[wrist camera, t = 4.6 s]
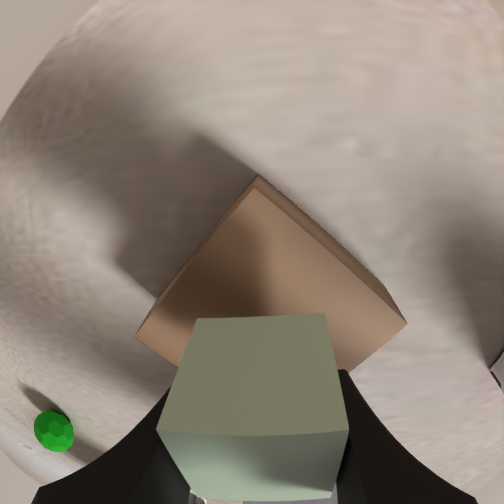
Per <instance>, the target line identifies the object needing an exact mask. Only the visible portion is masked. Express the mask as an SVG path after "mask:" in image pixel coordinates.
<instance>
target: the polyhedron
mask: <svg viewBox="0 0 504 504" xmlns="http://www.w3.org/2000/svg"><path fill="white" fill-rule="evenodd" d="M34 431H35V436H36V437H37V439H38V441H39V442H40V443H41V444H42V445H43V446H44V447H45V448H47V449H49V450H51V451H55V452H62V451H65V450H67V449H68V448H70V447H71V445H72V443H73V442H74V434H73V427H72V425H71V424H70V422H69V421H68V420H67V418H66V417H65V416H64V415H62V414H60V413H58V412H54V411H51V410H50V411H46V412H43V413H41V414H39V415H38V416H37V418H36V420H35V422H34Z"/></svg>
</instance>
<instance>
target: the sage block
mask: <svg viewBox="0 0 504 504" xmlns="http://www.w3.org/2000/svg"><path fill="white" fill-rule="evenodd" d="M156 430H157V432H158V434H159V436H160V438H161V439H162V441H163V443H164V445H165V447H166V448H167V450H168V452H169V453H170V455H171V457H172V459H173V460H174V462H175V463H176V465H177V467H178V468H179V470H180V472H181V473H182V475H183V476H184V478H185V479H186V481H187V483H188V484H189V486H190V487H191V489H192V490H193V492H194V493H195V495H196V496H197V497H199V498H208V499H219V500H234V501H297V500H312V499H323V498H331V495H332V491H333V488H334V485H335V482H336V478H337V475H338V471H339V468H340V464H341V460H342V457H343V453H344V449H345V445H346V441H347V437H348V433H349V425H348V420H347V415H346V410H345V405H344V399H343V395H342V390H341V385H340V380H339V375H338V371H337V366H336V361H335V357H334V352H333V348H332V344H331V339H330V335H329V331H328V326H327V322H326V318H325V314H324V313H312V314H297V315H280V316H261V317H236V318H197V320H196V323H195V325H194V328H193V331H192V333H191V336H190V338H189V341H188V344H187V346H186V349H185V352H184V354H183V357H182V360H181V362H180V365H179V368H178V370H177V373H176V376H175V378H174V381H173V384H172V386H171V389H170V392H169V395H168V397H167V400H166V403H165V406H164V408H163V411H162V414H161V417H160V419H159V422H158V425H157V428H156Z"/></svg>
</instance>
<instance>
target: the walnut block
mask: <svg viewBox="0 0 504 504" xmlns="http://www.w3.org/2000/svg"><path fill="white" fill-rule="evenodd" d="M312 313H324V314H325V318H326V322H327V326H328V331H329V335H330V339H331V344H332V348H333V352H334V357H335V361H336V366H337V370H340V369H345V370H346V371H347V372H348V373H349V372H350V371H352V370H353V369H354V368H355V367H357V366H358V365H359V364H361V363H362V362H363V361H364V360H366V359H367V358H368V357H369V356H371V355H372V354H373V353H374V352H376V351H377V350H378V349H379V348H380V347H382V346H383V345H384V344H385V343H386V342H388V341H389V340H390V339H391V338H392V337H393V336H394V335H396V334H397V333H398V332H399V331H400V330H401V329H402V328H404V327H405V326H406V325H407V322H406V320H405V319H404V317H403V315H402V314H401V312H400V310H399V309H398V307H397V305H396V304H395V302H394V300H393V299H392V297H391V296H390V294H389V292H388V291H387V289H386V287H385V286H384V285H383V284H382V283H381V282H380V281H379V280H378V279H377V278H376V277H375V276H373V275H372V274H371V273H370V272H369V271H368V270H367V269H366V268H365V267H364V266H363V265H362V264H361V263H360V262H359V261H358V260H357V259H355V258H354V257H353V256H352V255H351V254H350V253H349V252H348V251H347V250H346V249H345V248H344V247H342V246H341V245H340V244H339V243H338V242H337V241H336V240H335V239H334V238H333V237H331V236H330V235H329V234H328V233H327V232H326V231H325V230H324V229H323V228H321V227H320V226H319V225H318V224H317V223H316V222H315V221H313V220H312V219H311V218H310V217H309V216H308V215H307V214H305V213H304V212H303V211H302V210H301V209H300V208H299V207H297V206H296V205H295V204H294V203H293V202H292V201H290V200H289V199H288V198H287V197H286V196H285V195H283V194H282V193H281V192H280V191H279V190H277V189H276V188H275V187H274V186H273V185H271V184H270V183H269V182H268V181H267V180H265V179H264V178H263V177H262V176H261V175H259V174H258V175H257V176H256V178H255V179H254V180H253V181H252V182H251V183H250V185H249V186H248V187H247V188H246V189H245V191H244V192H243V193H242V194H241V195H240V196H239V198H238V199H237V200H236V201H235V202H234V204H233V205H232V206H231V207H230V208H229V210H228V211H227V212H226V213H225V215H224V216H223V217H222V218H221V219H220V221H219V222H218V223H217V224H216V225H215V227H214V228H213V229H212V230H211V232H210V233H209V234H208V235H207V237H206V238H205V239H204V240H203V242H202V243H201V244H200V245H199V247H198V248H197V249H196V250H195V252H194V253H193V254H192V255H191V257H190V258H189V259H188V260H187V262H186V263H185V264H184V265H183V267H182V268H181V269H180V270H179V272H178V273H177V274H176V276H175V277H174V278H173V279H172V281H171V282H170V283H169V285H168V286H167V287H166V289H165V290H164V291H163V292H162V294H161V295H160V296H159V298H158V299H157V300H156V302H155V304H154V305H153V307H152V308H151V310H150V312H149V313H148V315H147V316H146V318H145V320H144V321H143V323H142V325H141V326H140V328H139V329H138V331H137V333H136V334H135V336H134V338H136V339H137V340H138V341H140V342H141V343H143V344H144V345H145V346H147V347H148V348H150V349H151V350H153V351H154V352H155V353H157V354H158V355H160V356H161V357H163V358H164V359H166V360H167V361H169V362H170V363H172V364H173V365H175V366H176V367H178V368H179V365H180V362H181V360H182V357H183V354H184V352H185V349H186V346H187V344H188V341H189V338H190V336H191V333H192V331H193V328H194V325H195V323H196V320H197V318H236V317H261V316H280V315H297V314H312Z"/></svg>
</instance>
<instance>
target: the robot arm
mask: <svg viewBox="0 0 504 504" xmlns="http://www.w3.org/2000/svg"><path fill="white" fill-rule="evenodd" d="M337 371H338V375H339V380H340V385H341V390H342V395H343V399H344V405H345V410H346V415H347V420H348V425H349V433H348V437H347V441H346V445H345V449H344V453H343V457H342V460H341V464H340V468H339V471H338V475H337V478H336V482H335V485H334V488H333V491H332V495H331V498H323V499H312V500H297V501H243V504H478V503H477V501H476V499H475V498H474V497H472V496H471V495H469V494H467V493H465V492H463V491H461V490H459V489H458V488H456V487H454V486H453V485H451V484H449V483H448V482H446V481H445V480H443V479H442V478H440V477H439V476H437V475H436V474H435V473H434V472H432V471H431V470H430V469H428V468H427V467H426V466H425V465H423V464H422V463H421V462H419V461H418V460H417V459H416V458H415V457H414V456H413V455H412V454H410V453H409V452H408V451H407V450H406V449H405V448H404V447H403V446H402V445H401V444H400V443H399V442H398V441H397V440H396V439H395V438H394V437H393V435H392V434H391V433H390V432H389V431H388V430H387V428H386V427H385V426H384V425H383V424H382V423H381V421H380V420H379V419H378V417H377V416H376V415H375V414H374V412H373V411H372V409H371V408H370V407H369V405H368V404H367V403H366V401H365V400H364V398H363V397H362V395H361V394H360V392H359V391H358V389H357V387H356V386H355V384H354V383H353V381H352V379H351V377H350V376H349V374H348V372H347V371H346V370H345V369H340V370H337ZM171 386H172V385H171ZM170 389H171V387H170V388H169V389H168V390H167V392H166V393H165V394H164V395H163V396H162V398H161V399H160V400H159V401H158V402H157V404H156V405H155V406H154V407H153V408H152V409H151V411H150V412H149V413H148V414H147V415H146V416H145V417H144V418H143V419H142V420H141V421H140V422H139V423H138V424H137V425H136V426H135V427H134V428H133V430H132V431H131V432H129V433H128V434H127V435H126V436H125V437H124V438H123V439H122V440H121V441H120V442H118V443H117V444H116V445H115V446H113V447H112V448H111V449H110V450H108V451H107V452H106V453H104V454H103V455H102V456H100V457H99V458H97V459H96V460H94V461H93V462H91V463H90V464H88V465H87V466H85V467H83V468H81V469H80V470H78V471H76V472H74V473H72V474H70V475H68V476H66V477H64V478H62V479H60V480H57V481H55V482H52V483H50V484H47V485H45V486H42V487H39V489H38V491H37V493H36V495H35V497H34V499H33V501H32V503H31V504H188V501H189V494H190V488H191V487H190V486H189V484H188V483H187V481H186V479H185V478H184V476H183V475H182V473H181V472H180V470H179V468H178V467H177V465H176V463H175V462H174V460H173V459H172V457H171V455H170V453H169V452H168V450H167V448H166V447H165V445H164V443H163V441H162V439H161V438H160V436H159V434H158V432H157V430H156V428H157V425H158V422H159V419H160V417H161V414H162V411H163V408H164V406H165V403H166V400H167V397H168V395H169V392H170Z"/></svg>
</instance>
